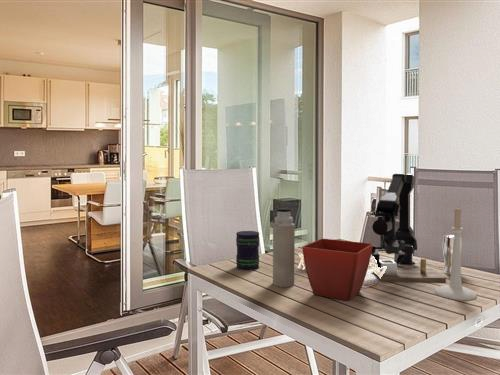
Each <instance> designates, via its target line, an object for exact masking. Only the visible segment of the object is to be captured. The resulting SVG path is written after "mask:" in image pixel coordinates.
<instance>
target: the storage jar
mask: <svg viewBox="0 0 500 375" xmlns="http://www.w3.org/2000/svg"><path fill="white" fill-rule="evenodd" d="M235 239H236V240H235V242H236V255H235V257H236V259H235V261H236V269H237V270H240V271H246V272H247V271H257V270H258V269H260V254H259V247H260V232H259V231H256V230H242V231H237V232H236V238H235Z"/></svg>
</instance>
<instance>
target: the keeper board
mask: <svg viewBox="0 0 500 375" xmlns="http://www.w3.org/2000/svg"><path fill="white" fill-rule="evenodd" d="M419 264H420V268H397V275H383V276H382V277H381V279H380V282H393V283H394V282H399V283H400V282H405V283H406V282H407V283H410V282H411V283H412V282H413V283H419V282H420V283H423V282H424V283H425V282H426V283H429V282H430V283H446V282H447V278H446V277H445V276H444V275H442V274H441V273H439V272H438V271H436V270H434V269H433V268H427V259H426V258H420V263H419Z"/></svg>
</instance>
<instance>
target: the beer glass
mask: <svg viewBox="0 0 500 375" xmlns="http://www.w3.org/2000/svg"><path fill="white" fill-rule="evenodd" d="M454 237H455V236H454V234H443V238H442V252H443V253H442V254H443V262H444V265H443V266H444V267H443V270H442V272H443V273H444V274H448V275H451V266H452V254H453V243H454ZM462 244H463V242H462V236H461V235H460V251H461V252H462V247H463V246H462Z"/></svg>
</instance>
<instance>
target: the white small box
mask: <svg viewBox="0 0 500 375" xmlns="http://www.w3.org/2000/svg"><path fill="white" fill-rule="evenodd" d="M379 262H380V268H381V267H383V266H387V269H386V271H385V273H384V274H383V275H397V269H398V267H397V263H396V262H395V261H394V259H379Z"/></svg>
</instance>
